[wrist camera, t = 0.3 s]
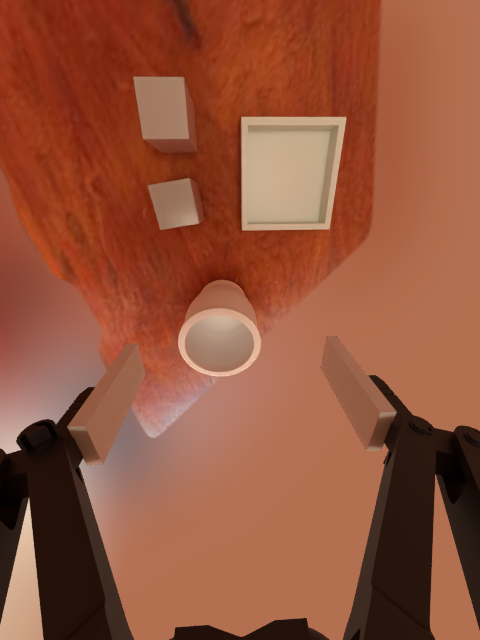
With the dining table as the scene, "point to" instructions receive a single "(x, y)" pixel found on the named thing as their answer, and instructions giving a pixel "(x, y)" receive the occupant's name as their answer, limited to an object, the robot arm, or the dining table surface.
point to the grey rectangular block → (177, 203)
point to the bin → (289, 171)
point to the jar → (220, 331)
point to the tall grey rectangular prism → (166, 113)
